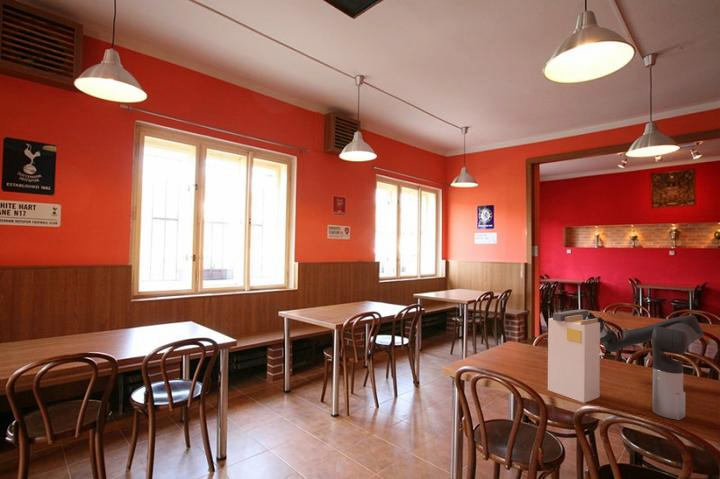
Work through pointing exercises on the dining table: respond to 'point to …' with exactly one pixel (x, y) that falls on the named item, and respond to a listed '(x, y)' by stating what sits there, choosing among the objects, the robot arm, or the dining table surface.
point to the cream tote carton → (574, 358)
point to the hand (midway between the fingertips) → (579, 312)
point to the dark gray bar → (569, 314)
